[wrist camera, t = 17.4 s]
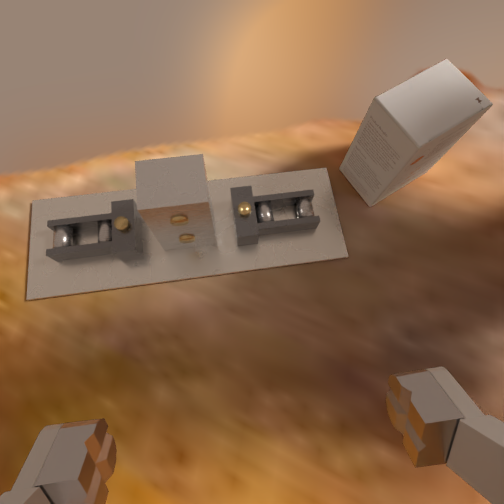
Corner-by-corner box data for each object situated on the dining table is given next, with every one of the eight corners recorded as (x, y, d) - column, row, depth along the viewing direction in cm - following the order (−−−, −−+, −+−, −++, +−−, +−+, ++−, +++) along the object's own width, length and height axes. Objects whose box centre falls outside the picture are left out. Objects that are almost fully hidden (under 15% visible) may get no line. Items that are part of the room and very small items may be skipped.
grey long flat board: (325, 169, 36) (334, 149, 33) (347, 257, 33) (359, 246, 30) (35, 202, 34) (12, 184, 30) (29, 300, 31) (3, 292, 27)
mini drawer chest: (212, 205, 34) (202, 151, 25) (217, 246, 32) (208, 204, 24) (162, 211, 33) (135, 159, 25) (164, 252, 32) (137, 212, 24)
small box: (393, 136, 38) (448, 55, 28) (426, 174, 36) (497, 102, 26) (336, 169, 36) (372, 94, 26) (368, 209, 35) (420, 147, 25)
